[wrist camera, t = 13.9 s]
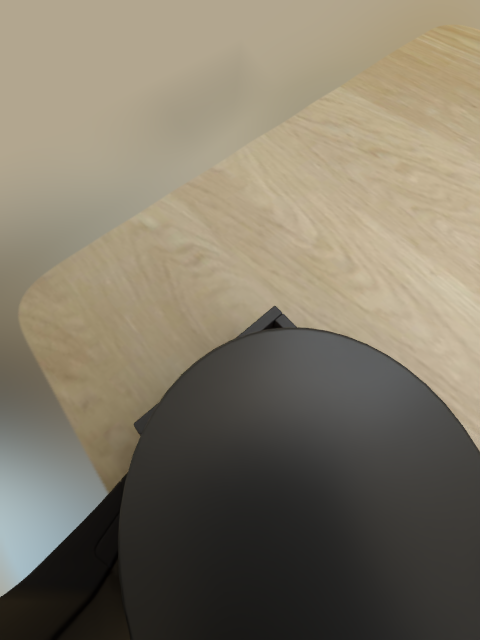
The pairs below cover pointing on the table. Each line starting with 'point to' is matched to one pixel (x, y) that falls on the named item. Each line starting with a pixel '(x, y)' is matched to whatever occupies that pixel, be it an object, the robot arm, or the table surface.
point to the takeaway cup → (301, 500)
